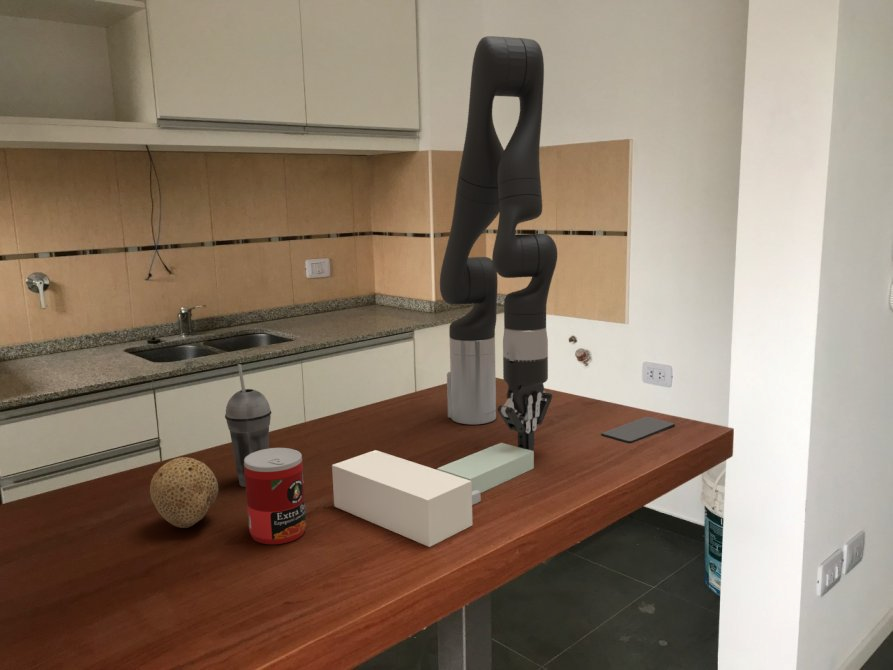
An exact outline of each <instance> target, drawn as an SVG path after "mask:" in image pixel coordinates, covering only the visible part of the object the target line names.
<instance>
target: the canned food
mask: <svg viewBox="0 0 893 670" xmlns="http://www.w3.org/2000/svg"><path fill="white" fill-rule="evenodd" d="M244 471H245V485H246V487H245V496H246V505H247V517H248V518H247V519H248V530H249V531H248V532H249V533H250V536H251V538H252V539H253V541H255V542H257V543H260V544H264V545H281V544H286V543H290V542H293V541H296V540H297V539H299V538H301V537H302V536H303V535H304V533H305V531H306V527H307V513H306V499H305V497H306V496H305V495H306V494H305V481H304V465H303V455H302V453H301V452H300V451H299V450H296V449H293V448H288V447H269V449H263V450H259V451H256V452H253V453H251V454H249V455H248V456H246V457H245V459H244Z"/></svg>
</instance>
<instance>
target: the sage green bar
mask: <svg viewBox="0 0 893 670" xmlns="http://www.w3.org/2000/svg"><path fill="white" fill-rule="evenodd" d="M534 461H535V453H534V451H531V450H527V449H523V448H519V447H518V446H515V445H511V444H508V443H504V442H499V443H497V444H496V443H495V444H494V445H492V446H489V447H487V448H485V449H482V450H480V451H478V452H474V453H472V454H469V455H467V456H465V457H462V458H460V459H457V460H455V461H451V462H449V463H447V464H444V465H442V466H440V467H437V468H436V470H439V471H442V472H445V473H448V474H451V475H454V476H457V477H461V478H464V479H467V480H470V481H472V491H475V490H477V491H480V492H481V493H484V492H486V491H489V490H491V489H492V488H495V487H497V486H499V485H501V484H503V483H506V482H508V481H510V480H512V479H515V478H516V477H518V476H521V475H522V474H525V473H527V472H529V471H531V470H533V469H534V467H535V463H534Z"/></svg>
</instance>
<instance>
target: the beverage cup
mask: <svg viewBox="0 0 893 670" xmlns="http://www.w3.org/2000/svg"><path fill="white" fill-rule="evenodd" d="M237 367H238V368H237V369H238V376H239V380H240V381H239V383H240V387H241V389H240V390H239V391H236V392H235V393H234V394H233V395H232V396H230V399H229V400H228V401H227V404H226V407H225V414H224V418H225V420H226V424H227V427H228V430H229V434H230V439H231V446H232V451H233V456H234V457H233V458H234V463H235V468H236V474H237V477H238V481H239V482H238V483H239V485H240V486H241V487H243V488H246V485H245V471H244V459H245V457H246V456H248V455H249V454H251V453H253V452H256V451H259V450H263V449H269V448H270V447H269V446H270V442H269V441H270V425H271V419H272V418H271V416H272V410H271V407H270V403H269V401H268V399H267V398H266V396H265V395H264V394H263V393H262V392H261V391H258V390H256V389H252V388H246V386H245V385H246V384H245V381H244V375H243V368H242V364H240V363H239V364H237Z"/></svg>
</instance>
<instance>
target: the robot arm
mask: <svg viewBox="0 0 893 670" xmlns="http://www.w3.org/2000/svg"><path fill="white" fill-rule="evenodd" d="M544 63H545V62H544V54H543V51H542V48H541V45H540V44H539V42H537V41H536V40H535V39H532V38H531V39H530V38H523V37H512V36H511V37H510V36H497V35H496V36H495V35H494V36H492V35H490V36H489V35H488V36H484V37H482V38H481V39H480V40H479V41H478V43H477V44H476V47H475V51H474V55H473V60H472V68H471V77H470V87H469V102H468V103H469V104H468V112H467V114H468V115H467V123H466V130H465V131H466V132H465V139H464V144H463V149H462V155H461V161H460V166H459V172H458V177H457V178H458V179H457V184H456V191H455V199H454V207H453V214H452V221H451V227H450V232H449V234H448V235H449V236H448V238H447V239H448V240H447V243H446V247H445V251H444V256H443V260H442V264H441V269H440V273H439V274H440V276H439V291H440V296H441V298H442V300H443V301H444V302H445V303H446V304H448V305H455V306H456V305H468V304H469V305H470V304H473V306H472V308H471V310H470V311H468V313H466V314H465V315H464V316H462V317H460V318H458V319H456V320H453V321H452V322H451V323H450V324H449V329H448V330H449V332H448V333H449V334H448V335H449V361H450V362H449V363H450V366H449V367H450V369H449V371H448V372H447V373H446V390H447V391H446V393H447V394H446V395H447V418H450V419H451V420H452V421H453V422H455V423H458V424H464V425H483V424H489V423H491V422H493V421H495V420H496V418H497V412H498V414H499V416H500V417H501V419H502V420H503V422H504V423H505V425H506V426H507V428H508V429H509V430H510V431H515V432H517V447H519V448H523V449H527V450H531V451H534V450H535V449H534V448H535V431H536V430H537V427H538V426H542V424H543V421H544V419H545V417H546V415H547V412H548V410H549V407H550V404H551V402H552V400H553V394H552V393H549V392H546V391H545V385H544V384H545V383H546V382H547V381H548V378H549V355H548V354H549V339H548V338H549V337H548V331H547V304H548V303H547V302H548V298H549V293H550V287H551V283H552V280H553V276H554V273H555V270H556V266H557V262H558V247H557V244H556V242H555V241H554V239H553V237H552V236H550V235H549V234H545V233H531V234H530V233H527V234H526V233H525V234H516V228H517V226H518V225H519V224H521V223H525V222H528V221H533V220H535V219H537V218H539V217H540V216H541V215H542V214H543V198H542V197H543V195H542V183H541V182H542V181H541V172H540V171H541V169H540V168H541V167H540V165H541V164H540V147H541V143H540V142H541V132H542V131H541V130H542V119H543V117H542V116H543V103H544V102H543V100H544V82H545V81H544V77H545V64H544ZM495 97H507V98H508V97H509V98H511V97H512V98H518V99H519V116H518V120H517V123H516V126H515V128H514V131H513V132H512V135H511V137H510V139H509V141H508V143H507V145H506V146H505V147H504V148H505V149H504V148H503V145H502V143H501V141H500V138H499V137H498V134H497V131H496V128H495V125H494V120H493V107H494V106H493V105H494V100H495ZM498 216H499V217H498ZM497 217H498V224H497V230H496V236H495V240H494V245H493V249H492V255H491V256H492V259H491V257H487V256H474V257H469V256H470V253H471V251H472V249H473V247H474V245H475V243H476V242H477V240H478V239H479V237H480V236H481V235H482V234H483V233H484V232H485V230H487V228H489V226H490V225H491V224H492V223H493V222H494V220H495V219H496V218H497ZM498 275H499V276H501V277H502V278H505V279H515V278H516V279H517V278H531V279H530V281H529V283H528V284H527V286H526V287H524V288H522V289H519V290H515V291H511V292H509V293H508V294H506V295H505V297H504V299H503V322H504V323H503V327H504V328H503V336H502V362H503V363H502V366H503V367H502V370H503V371H502V373H503V374H502V375H503V377H502V378H503V381H504V382H506V384H507V392H506V398H507V399H506V402H505V403H504V404H503V405H501V404H500V405H499V406H497V401H496V400H497V389H496V388H497V385H496V383H497V381H496V379H497V378H496V325H497V309H498V307H497V306H498V305H497V304H498V283H499V282H498Z"/></svg>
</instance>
